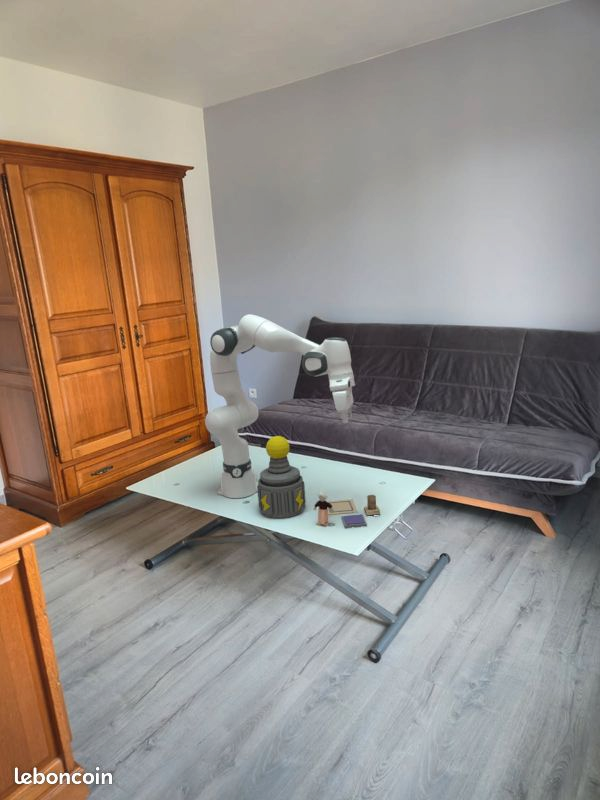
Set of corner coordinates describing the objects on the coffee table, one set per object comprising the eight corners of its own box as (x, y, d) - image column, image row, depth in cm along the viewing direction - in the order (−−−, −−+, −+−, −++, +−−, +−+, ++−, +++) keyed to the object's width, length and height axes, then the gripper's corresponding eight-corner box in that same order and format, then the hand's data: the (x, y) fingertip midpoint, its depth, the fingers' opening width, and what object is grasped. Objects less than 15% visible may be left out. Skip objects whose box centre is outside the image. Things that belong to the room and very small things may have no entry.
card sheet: (323, 502, 216) (323, 501, 216) (352, 499, 217) (352, 498, 217) (326, 515, 205) (326, 514, 205) (358, 512, 205) (358, 511, 205)
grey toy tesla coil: (280, 495, 226) (275, 427, 219) (316, 505, 214) (311, 433, 207) (249, 512, 212) (242, 439, 205) (285, 524, 200) (278, 447, 193)
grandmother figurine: (313, 526, 196) (311, 494, 194) (314, 521, 200) (312, 489, 197) (334, 526, 195) (332, 494, 192) (335, 522, 199) (333, 489, 196)
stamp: (364, 511, 206) (363, 494, 204) (377, 510, 206) (376, 493, 205) (366, 517, 201) (366, 499, 200) (380, 515, 202) (379, 498, 200)
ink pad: (341, 518, 201) (341, 515, 201) (362, 516, 202) (362, 513, 201) (344, 528, 193) (344, 525, 193) (366, 526, 194) (366, 522, 194)
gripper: (337, 380, 202) (342, 416, 204) (328, 387, 183) (334, 426, 184) (354, 378, 201) (359, 414, 202) (347, 384, 181) (352, 424, 183)
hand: (347, 420), depth 193 cm, fingers open, 8 cm apart
